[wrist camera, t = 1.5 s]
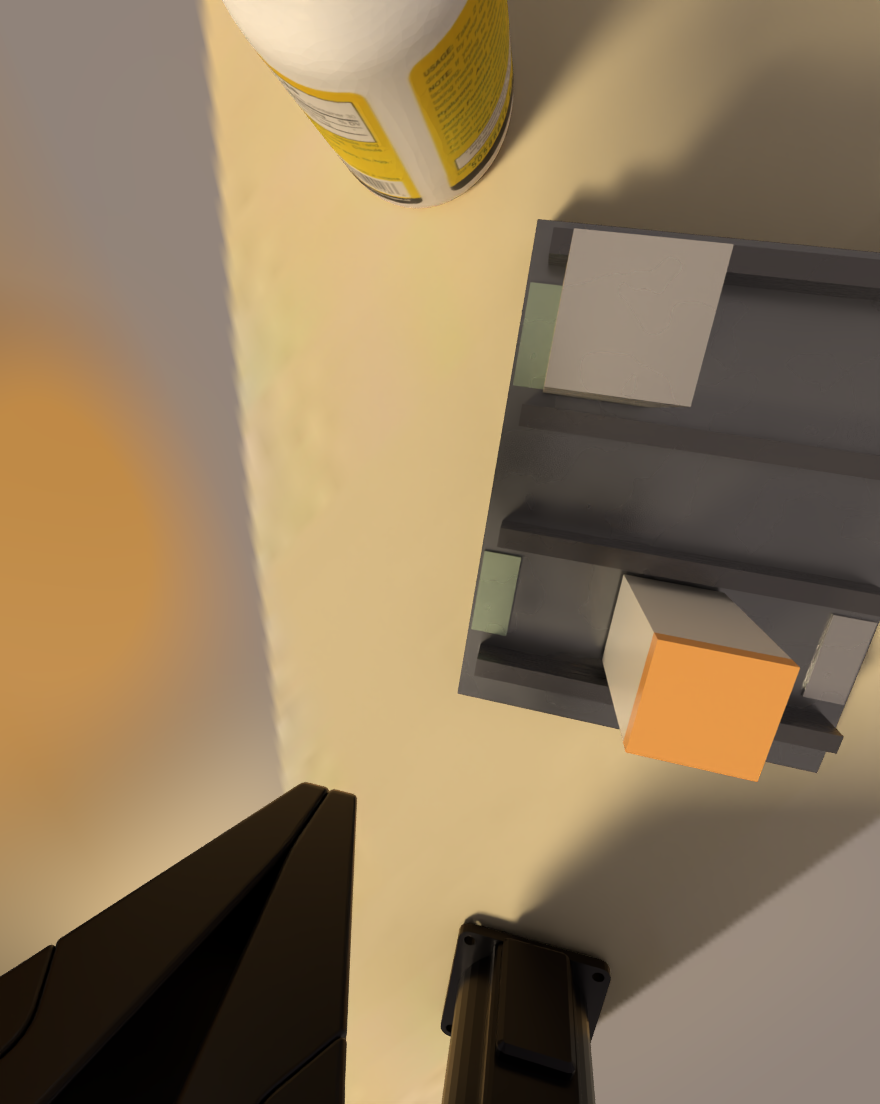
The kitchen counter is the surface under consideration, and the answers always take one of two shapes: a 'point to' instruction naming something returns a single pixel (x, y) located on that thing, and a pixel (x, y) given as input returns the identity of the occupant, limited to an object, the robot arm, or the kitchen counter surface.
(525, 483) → the breaker panel
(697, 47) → the kitchen counter surface
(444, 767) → the kitchen counter surface
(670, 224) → the kitchen counter surface
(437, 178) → the supplement bottle
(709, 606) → the block
